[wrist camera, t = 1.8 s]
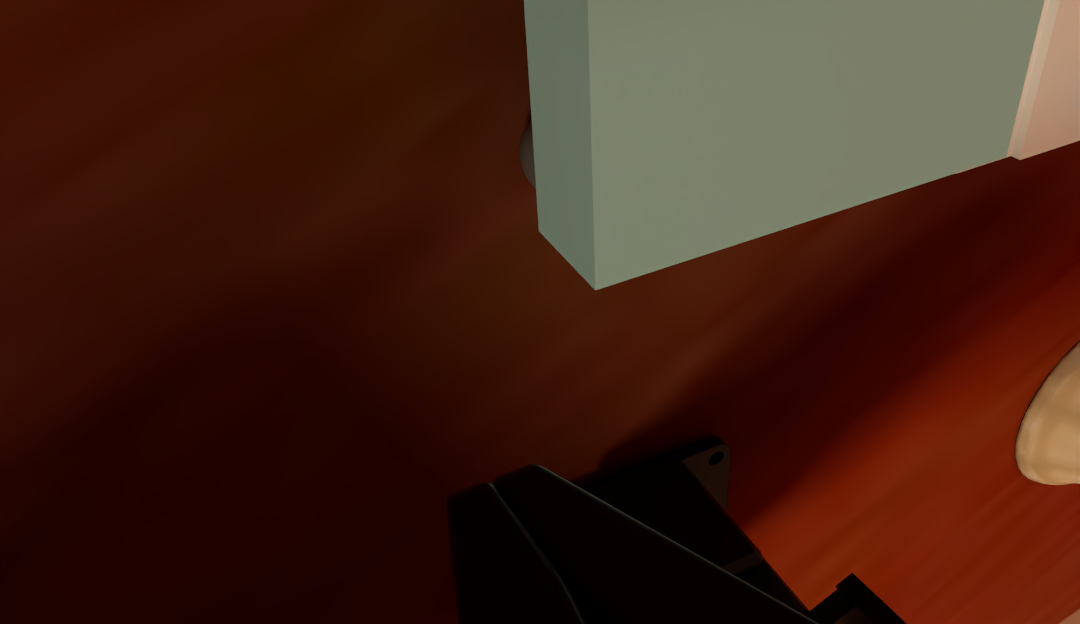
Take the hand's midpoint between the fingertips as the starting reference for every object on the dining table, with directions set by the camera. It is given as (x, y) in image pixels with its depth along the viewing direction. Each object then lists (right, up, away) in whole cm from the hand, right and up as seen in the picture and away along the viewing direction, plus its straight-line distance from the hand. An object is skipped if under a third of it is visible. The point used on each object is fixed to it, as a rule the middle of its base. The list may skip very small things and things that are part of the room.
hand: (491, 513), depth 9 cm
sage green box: (+4, +9, +12) cm, 16 cm away
